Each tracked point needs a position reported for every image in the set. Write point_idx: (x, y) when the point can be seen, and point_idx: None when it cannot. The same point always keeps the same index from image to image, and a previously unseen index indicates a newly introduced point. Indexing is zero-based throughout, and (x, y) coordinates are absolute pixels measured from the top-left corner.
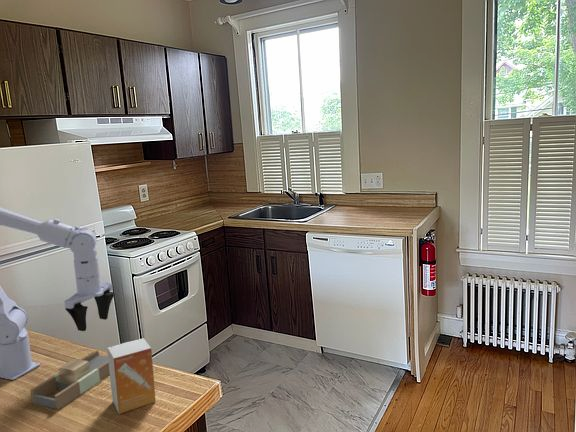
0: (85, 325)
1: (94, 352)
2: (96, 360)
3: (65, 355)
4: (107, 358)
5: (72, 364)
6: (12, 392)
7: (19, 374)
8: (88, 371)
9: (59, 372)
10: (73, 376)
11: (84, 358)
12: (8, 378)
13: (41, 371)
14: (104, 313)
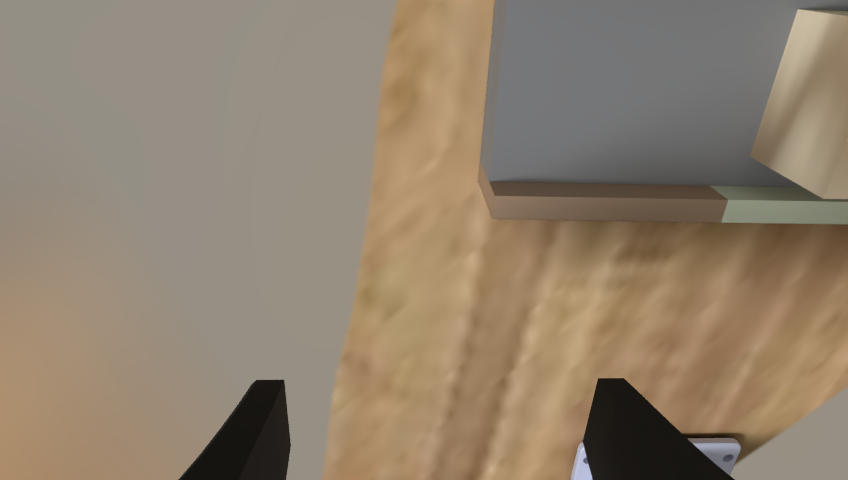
0: (642, 414)
1: (525, 205)
2: (572, 134)
3: (452, 410)
4: (526, 68)
5: None
6: (843, 361)
7: (701, 448)
8: (837, 13)
9: (844, 222)
10: None
11: (630, 207)
12: (731, 463)
13: None
14: (265, 452)
